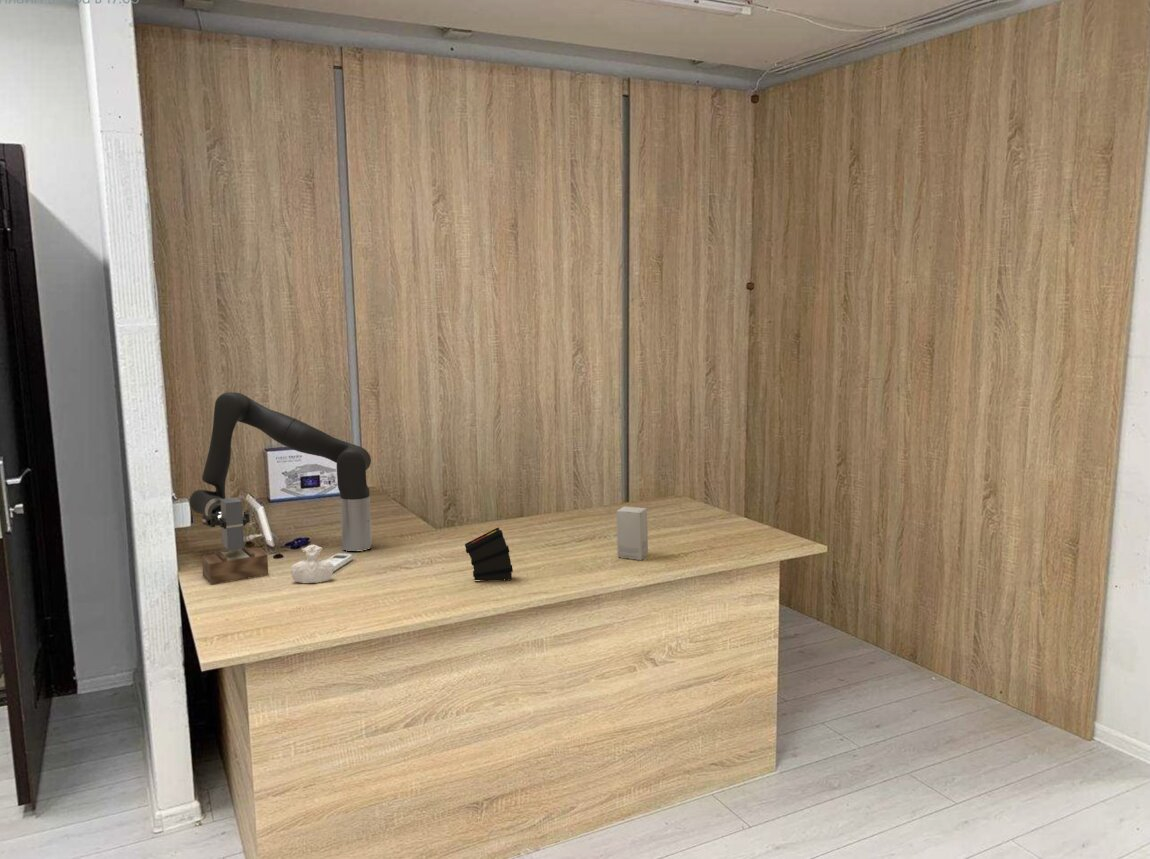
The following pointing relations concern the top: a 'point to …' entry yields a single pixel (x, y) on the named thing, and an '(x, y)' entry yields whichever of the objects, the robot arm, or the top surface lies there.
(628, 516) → the skincare box
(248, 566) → the stand
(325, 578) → the tied plastic bag
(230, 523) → the stacked grey cubes
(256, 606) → the top surface
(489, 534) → the magazine
